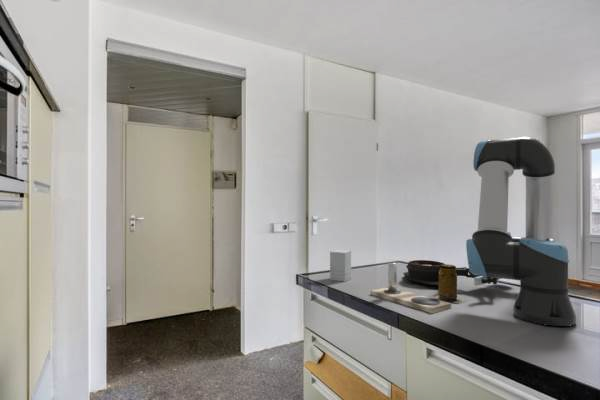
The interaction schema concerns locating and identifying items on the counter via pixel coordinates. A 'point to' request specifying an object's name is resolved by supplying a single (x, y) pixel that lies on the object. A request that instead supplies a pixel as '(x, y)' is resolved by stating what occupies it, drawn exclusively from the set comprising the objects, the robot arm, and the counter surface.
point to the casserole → (423, 272)
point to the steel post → (392, 277)
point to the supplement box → (340, 265)
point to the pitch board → (412, 300)
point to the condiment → (448, 284)
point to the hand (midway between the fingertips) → (456, 278)
